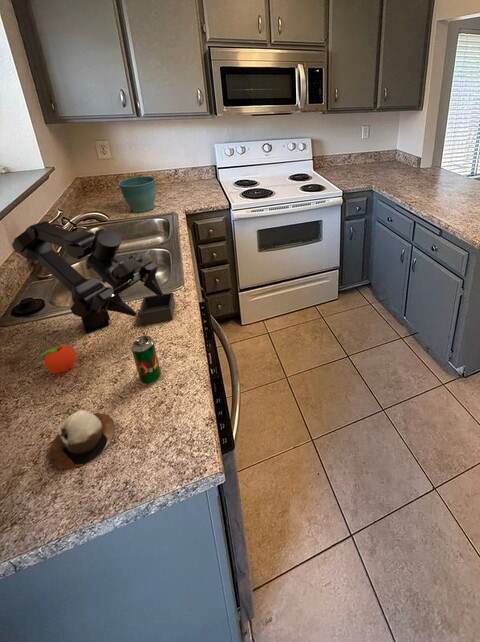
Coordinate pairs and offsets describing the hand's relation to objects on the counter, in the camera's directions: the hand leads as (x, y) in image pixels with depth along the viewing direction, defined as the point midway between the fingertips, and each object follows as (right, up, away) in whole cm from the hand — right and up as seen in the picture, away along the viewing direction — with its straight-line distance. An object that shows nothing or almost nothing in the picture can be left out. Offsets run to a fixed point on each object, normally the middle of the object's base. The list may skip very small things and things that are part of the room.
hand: (149, 305), depth 98 cm
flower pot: (-56, +26, +106) cm, 122 cm away
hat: (-4, -24, -21) cm, 32 cm away
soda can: (+3, -18, -5) cm, 19 cm away
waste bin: (-6, -8, +19) cm, 22 cm away
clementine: (-22, -17, -2) cm, 28 cm away
